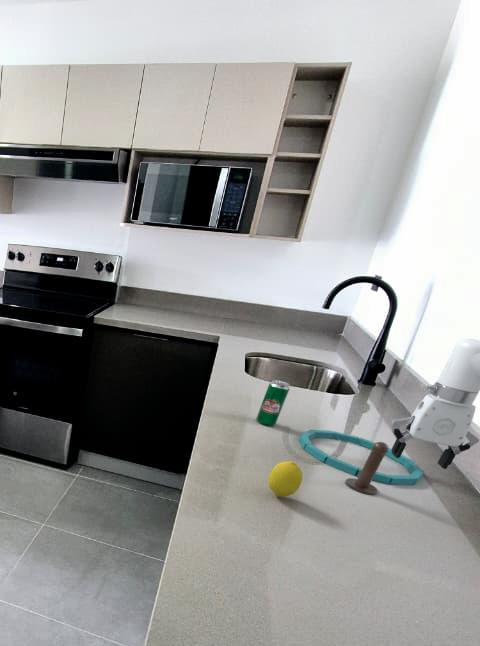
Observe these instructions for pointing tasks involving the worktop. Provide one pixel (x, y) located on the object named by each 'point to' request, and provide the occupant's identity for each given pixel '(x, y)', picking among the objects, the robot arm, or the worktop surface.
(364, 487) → the ring toss
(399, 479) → the ring
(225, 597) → the worktop surface
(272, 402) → the soda can
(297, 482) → the lemon
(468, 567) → the worktop surface
